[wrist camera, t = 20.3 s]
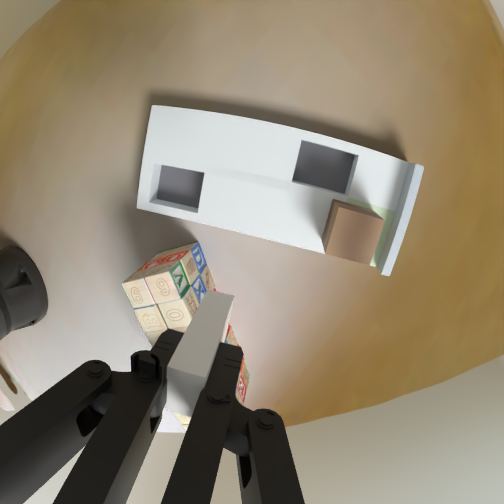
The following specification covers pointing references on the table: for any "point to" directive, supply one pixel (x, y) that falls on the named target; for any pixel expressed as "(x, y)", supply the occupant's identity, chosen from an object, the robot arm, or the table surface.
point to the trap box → (270, 179)
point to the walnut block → (351, 232)
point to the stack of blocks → (175, 299)
